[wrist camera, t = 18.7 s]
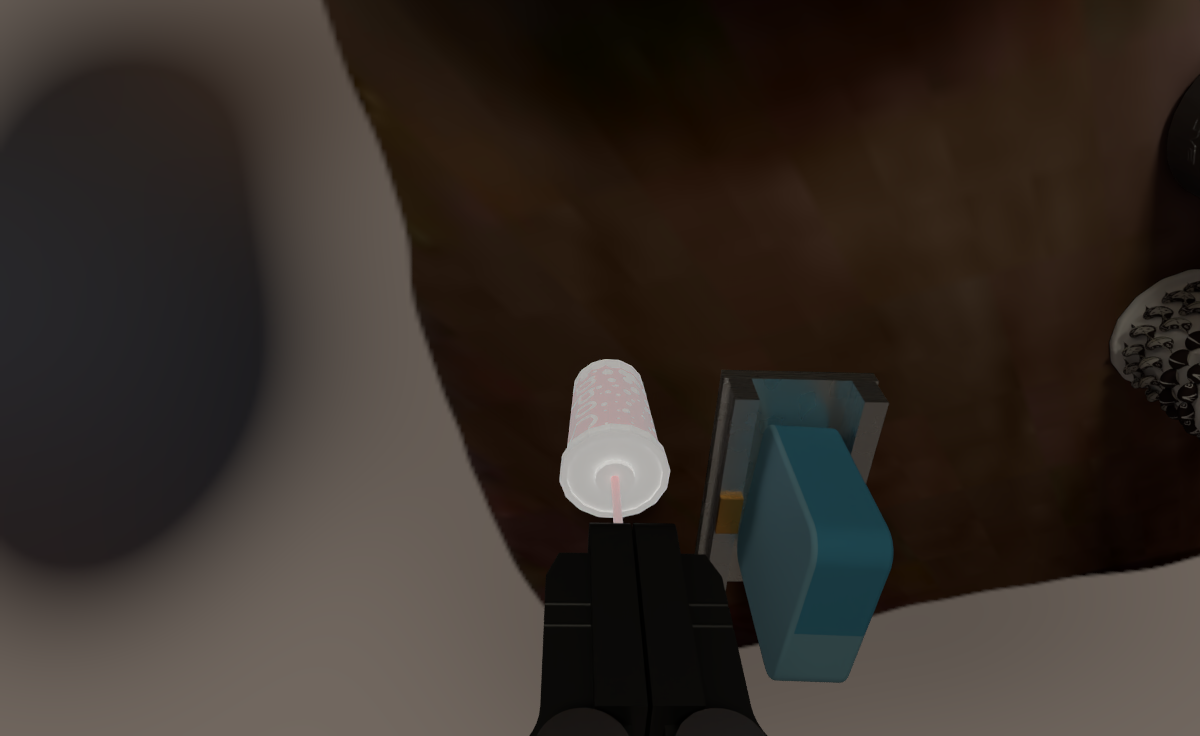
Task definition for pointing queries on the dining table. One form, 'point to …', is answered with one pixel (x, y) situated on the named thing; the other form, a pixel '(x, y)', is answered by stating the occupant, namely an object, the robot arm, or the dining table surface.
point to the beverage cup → (612, 444)
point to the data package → (811, 554)
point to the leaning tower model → (1164, 346)
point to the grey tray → (740, 429)
